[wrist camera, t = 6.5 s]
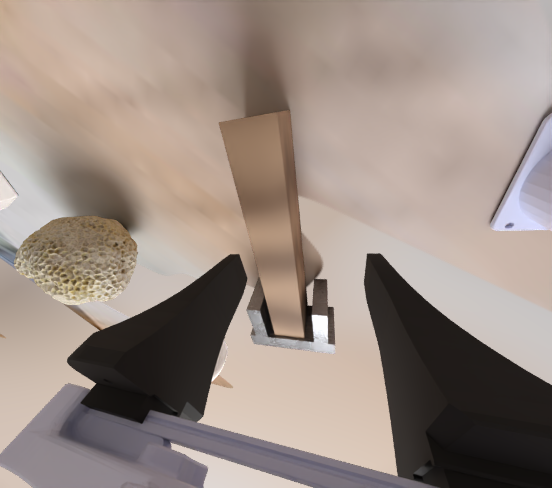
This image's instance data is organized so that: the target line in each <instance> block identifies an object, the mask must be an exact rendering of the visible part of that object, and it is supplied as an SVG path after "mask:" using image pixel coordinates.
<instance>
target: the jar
mask: <svg viewBox="0 0 552 488" xmlns="http://www.w3.org/2000/svg"><path fill="white" fill-rule="evenodd" d="M17 197H18V194H17V193H16V192H15V190H14V189H13V188H12V186H11V185H10V184H9V182H8V181H7V180H6V178H5V177H4V176H3V174H2V173H1V172H0V210H2V209H5V208H7V207H8V206H9V205H10V204H11V203H12V202H13V201H14V200H15V199H16V198H17Z"/></svg>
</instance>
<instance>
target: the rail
mask: <svg viewBox="0 0 552 488" xmlns="http://www.w3.org/2000/svg"><path fill="white" fill-rule="evenodd" d="M219 126H220V129H221V133H222V137H223V141H224V144H225V148H226V152H227V156H228V159H229V163H230V167H231V171H232V174H233V178H234V182H235V186H236V189H237V193H238V197H239V201H240V205H241V208H242V212H243V216H244V220H245V223H246V227H247V231H248V235H249V238H250V242H251V246H252V250H253V253H254V257H255V261H256V265H257V268H258V272H259V276H260V280H261V284H262V287H263V291H264V295H265V299H266V302H267V306H268V310H269V314H270V317H271V321H272V325H273V329H274V332H275V335H278V336H286V337H295V338H303V339H304V337H305V326H306V316H307V305H308V302H307V291H306V283H305V272H304V261H303V250H302V239H301V224H300V212H299V202H298V194H297V183H296V172H295V161H294V150H293V139H292V128H291V117H290V110H288V111H280V112H274V113H268V114H263V115H258V116H252V117H247V118H241V119H236V120H230V121H225V122H219Z"/></svg>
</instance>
